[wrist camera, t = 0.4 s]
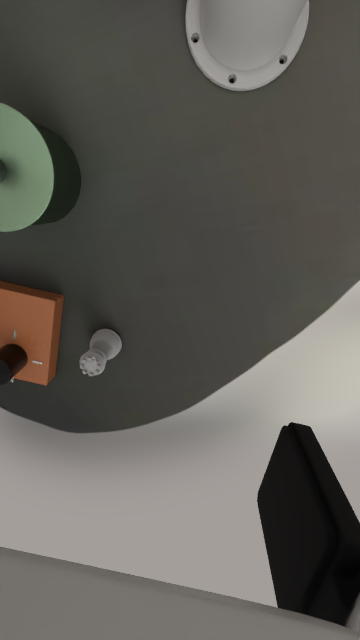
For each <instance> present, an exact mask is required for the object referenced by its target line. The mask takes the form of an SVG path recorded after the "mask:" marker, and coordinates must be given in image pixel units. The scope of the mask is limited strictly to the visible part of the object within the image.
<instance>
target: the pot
mask: <svg viewBox="0 0 360 640" xmlns="http://www.w3.org/2000/svg"><path fill="white" fill-rule="evenodd" d="M32 122H33V121H32ZM33 123H34V125H35V126H36V127H37V128H38V129H39V131H40V132H41V133H42V135H43V136H44V138H45V140H46V142H47V144H48V146H49V148H50V150H51V153H52V157H53V160H54V165H55V173H56V184H55V191H54V195H53V198H52V201H51V203H50V205H49V207H48V209H47V211H46V212H45V213H44V215H43V216H42V217H41V218H40V219H39V220H38V221H37V222H36V223H34V224H32V225H40V224H45V223H51V222H56V221H58V220H59V219H61V218H63V217H64V216H66V215H67V214H68V213H69V212H70V211H71V210H72V208H73V207H74V205H75V203H76V201H77V199H78V196H79V193H80V187H81V176H80V170H79V166H78V163H77V160H76V158H75V156H74V154H73V152H72V150H71V149H70V148H69V146H68V145H67V144H66V143H65V141H64V140H63V139H61V138H60V137H59V136H58V135H56V134H55V133H53V132H52V131H50V130H49V129H48V128H45V127H43V126H41V125H39V124H37V123H35V122H33ZM32 225H31V226H32Z"/></svg>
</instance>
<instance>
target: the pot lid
mask: <svg viewBox="0 0 360 640" xmlns="http://www.w3.org/2000/svg"><path fill="white" fill-rule="evenodd" d="M55 184H56V173H55V165H54V160H53V157H52V153H51V150H50V148H49V146H48V144H47V142H46V140H45V138H44V136H43V135H42V133H41V132H40V131H39V129H38V128H37V127H36V126H35V125H34V123H33V122H32V121H31V120H30V119H28V118H27V117H26V116H25V115H24V114H22V113H21V112H19V111H18V110H16V109H14V108H12V107H10V106H8V105H6V104H3V103H0V232H11V231H18V230H22V229H25V228H27V227H29V226H31V225H32V224H34V223H36V222H37V221H38V220H39V219H40V218H41V217H42V216H43V215H44V213H45V212H46V211H47V209H48V207H49V205H50V203H51V201H52V198H53V195H54V191H55Z"/></svg>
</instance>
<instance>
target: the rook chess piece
mask: <svg viewBox="0 0 360 640" xmlns="http://www.w3.org/2000/svg"><path fill="white" fill-rule="evenodd" d="M121 347H122V343H121V339H120V337H119V335H118V334H116V333H115V332H114V331H112V330H110V329H101V330H98V331H96V332H95V333H94V334H93V336H92V338H91V340H90V350H89V351H88V352H87V353H84V354H83V355H82V356H81V358H80V369H81V368H82V370H83V371H82V372H83V373H84V374H86V373H87V374H89V376H93V375H98V374H100V373H102V372H103V371H104V368H105V364H106V361H107V360H109V359H112V358H114V357H115V356H116V355H117V354H118V353H119V352H120V349H121Z"/></svg>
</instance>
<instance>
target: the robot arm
mask: <svg viewBox="0 0 360 640" xmlns="http://www.w3.org/2000/svg"><path fill="white" fill-rule="evenodd" d="M308 17H309V0H187V6H186V16H185V21H186V34H187V41H188V45H189V48H190V52H191V54H192V56H193V59H194V61H195V63H196V65H197V66H198V67H199V69H200V70H201V71H202V73H203V74H204V75H205V76H206V77H207V78H208V79H210V80H211V81H212V82H213V83H215V84H217V85H219V86H220V87H222V88H226V89H229V90H232V91H248V90H254V89H257V88H259V87H262V86H265V85H266V84H268V83H270V82H271V81H273V80H274V79H276V78H277V77H278V76H279V75H280V74H281V73H282V72H283V71H284V70H285V69H286V68H287V66H288V65H289V64H290V63H291V61H292V60H293V58H294V57H295V55H296V53H297V52H298V50H299V48H300V45H301V43H302V41H303V39H304V35H305V32H306V28H307V25H308ZM194 39H197V41H198V42H197V43H193V40H194ZM280 60H283V64H281V63H280V62H279V61H280ZM230 79H233V80H234V83H230V82H229V80H230ZM257 499H258V500H257V502H258V508H259V513H260V518H261V524H262V529H263V534H264V539H265V544H266V549H267V554H268V559H269V565H270V570H271V575H272V580H273V585H274V590H275V595H276V600H277V605H278V608H276V607H272V606H268V605H264V604H260V603H255V602H251V601H247V600H242V599H239V598H235V597H230V596H225V595H221V594H216V593H212V592H207V591H203V590H198V589H194V588H189V587H184V586H180V585H175V584H171V583H166V582H162V581H157V580H153V579H148V578H144V577H139V576H134V575H130V574H125V573H120V572H116V571H111V570H106V569H102V568H97V567H93V566H88V565H83V564H79V563H74V562H69V561H65V560H60V559H55V558H51V557H46V556H41V555H36V554H31V553H27V552H22V551H17V550H13V549H8V548H3V547H0V640H360V523H359V521H358V519H357V517H356V515H355V513H354V511H353V509H352V507H351V505H350V503H349V501H348V499H347V497H346V495H345V493H344V491H343V489H342V488H341V485H340V483H339V482H338V480H337V478H336V476H335V474H334V472H333V470H332V468H331V466H330V464H329V462H328V460H327V458H326V456H325V454H324V452H323V450H322V449H321V446H320V444H319V442H318V441H317V439H316V437H315V435H314V433H313V431H312V429H311V427H310V426H306V425H302V424H296V423H292V422H291V423H289V425H288V426H283V427H282V429H281V431H280V434H279V437H278V440H277V442H276V445H275V448H274V450H273V453H272V456H271V459H270V461H269V464H268V467H267V469H266V472H265V475H264V478H263V480H262V483H261V486H260V488H259V491H258V498H257Z"/></svg>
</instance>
